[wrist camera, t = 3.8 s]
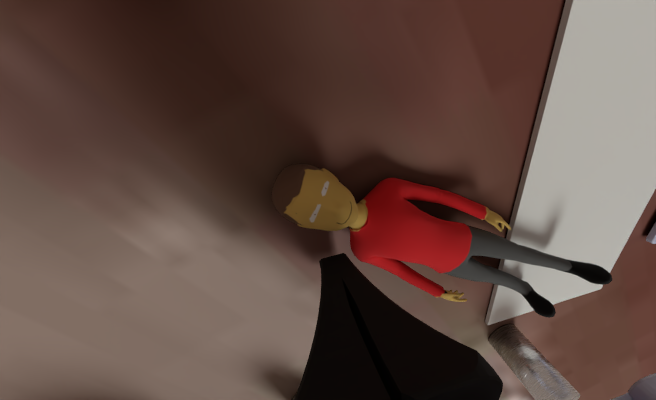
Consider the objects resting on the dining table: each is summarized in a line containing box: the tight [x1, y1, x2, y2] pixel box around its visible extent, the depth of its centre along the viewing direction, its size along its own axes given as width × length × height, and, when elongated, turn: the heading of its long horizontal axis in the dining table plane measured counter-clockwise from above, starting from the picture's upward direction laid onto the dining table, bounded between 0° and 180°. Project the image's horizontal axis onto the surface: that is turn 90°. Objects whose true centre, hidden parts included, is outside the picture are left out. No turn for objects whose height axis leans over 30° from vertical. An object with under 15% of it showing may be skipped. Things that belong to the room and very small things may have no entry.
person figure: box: [272, 164, 612, 317], centre depth 13 cm, size 5×4×18 cm
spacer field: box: [292, 324, 580, 400], centre depth 12 cm, size 18×27×5 cm
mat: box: [485, 0, 656, 325], centre depth 15 cm, size 10×20×1 cm, turn 8°
